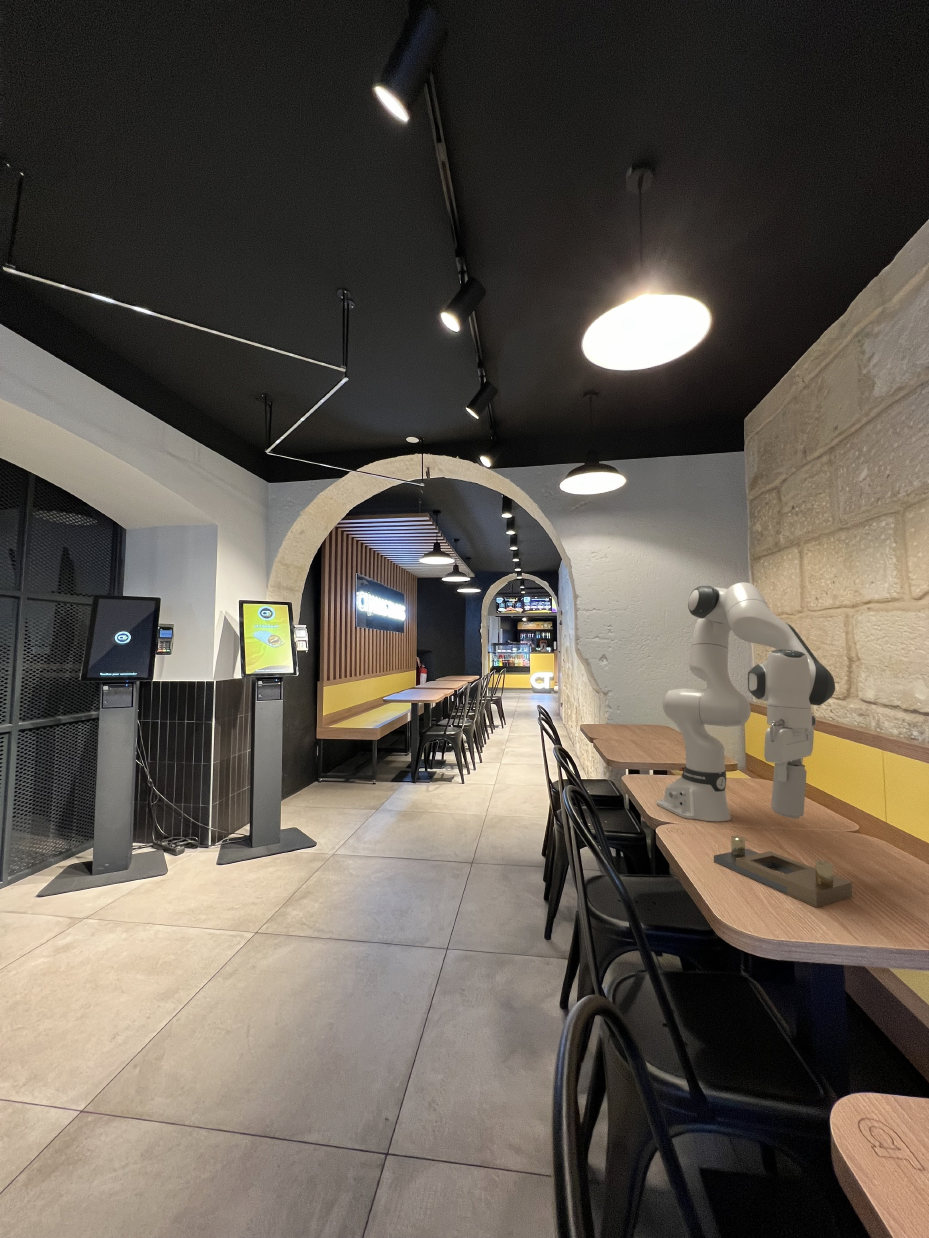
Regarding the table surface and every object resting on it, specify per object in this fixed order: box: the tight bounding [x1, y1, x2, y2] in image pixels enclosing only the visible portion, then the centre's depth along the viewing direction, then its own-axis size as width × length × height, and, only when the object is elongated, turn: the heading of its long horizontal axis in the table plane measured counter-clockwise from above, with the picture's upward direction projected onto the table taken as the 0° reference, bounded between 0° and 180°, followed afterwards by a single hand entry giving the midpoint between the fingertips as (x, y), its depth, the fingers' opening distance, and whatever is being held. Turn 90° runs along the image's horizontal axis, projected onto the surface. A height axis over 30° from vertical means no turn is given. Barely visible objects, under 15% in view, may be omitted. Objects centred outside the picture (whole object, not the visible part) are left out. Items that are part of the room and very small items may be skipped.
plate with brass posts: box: [713, 835, 853, 909], centre depth 116 cm, size 24×12×7 cm, turn 25°
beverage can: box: [770, 761, 807, 819], centre depth 120 cm, size 6×6×12 cm
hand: (789, 778), depth 120 cm, fingers closed on beverage can, 6 cm apart
